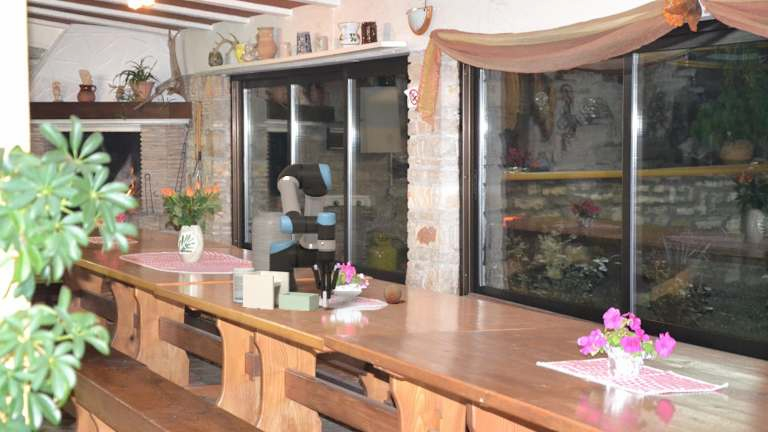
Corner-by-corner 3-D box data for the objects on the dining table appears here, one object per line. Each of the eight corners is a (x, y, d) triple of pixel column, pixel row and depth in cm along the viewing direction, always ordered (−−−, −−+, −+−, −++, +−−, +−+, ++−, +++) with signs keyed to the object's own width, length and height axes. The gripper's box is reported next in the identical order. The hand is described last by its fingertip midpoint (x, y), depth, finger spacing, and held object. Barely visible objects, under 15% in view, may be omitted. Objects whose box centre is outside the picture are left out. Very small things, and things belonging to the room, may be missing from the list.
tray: (289, 305, 448) (289, 291, 447) (319, 308, 442) (319, 293, 442) (278, 309, 439) (278, 294, 438) (309, 311, 434) (309, 296, 433)
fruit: (380, 303, 457) (381, 285, 456) (387, 301, 464) (387, 283, 464) (398, 305, 454) (398, 286, 454) (404, 302, 462) (404, 284, 461)
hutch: (260, 302, 456) (260, 270, 455) (289, 304, 451) (289, 272, 450) (242, 307, 442) (243, 274, 441) (272, 309, 437) (272, 276, 436)
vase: (257, 274, 559) (257, 211, 557) (294, 275, 557) (295, 211, 555) (247, 278, 539) (247, 213, 537) (286, 279, 537) (286, 214, 535)
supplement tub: (258, 302, 456) (259, 269, 455) (239, 304, 450) (239, 270, 449) (249, 300, 464) (249, 266, 463) (229, 301, 458) (229, 268, 457)
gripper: (308, 250, 433) (307, 307, 435) (337, 251, 428) (336, 309, 430) (315, 248, 440) (315, 304, 442) (344, 250, 435) (343, 306, 437)
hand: (325, 306), depth 436 cm, fingers closed
